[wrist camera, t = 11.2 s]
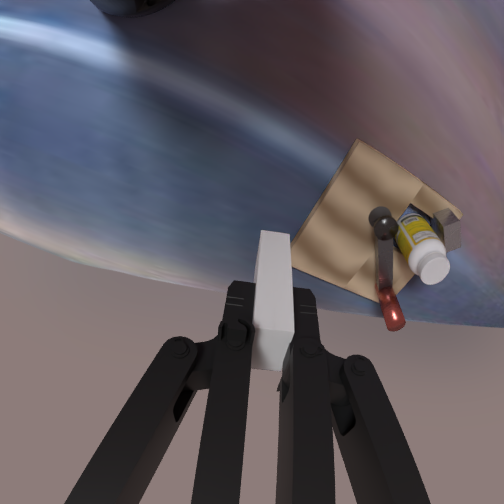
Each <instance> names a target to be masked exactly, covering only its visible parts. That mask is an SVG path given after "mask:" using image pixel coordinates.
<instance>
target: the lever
mask: <svg viewBox="0 0 504 504" xmlns="http://www.w3.org/2000/svg"><path fill="white" fill-rule="evenodd" d="M398 229H399V227H398V223H397V222H396V220H395V219H394V218H393V217H392V216H388V215H386V216H382V217H380V218H378V219H377V220H376V221H374V226H373V231H374V236H375V258H376V284H375V291H376V294H377V297H378V300H379V303H380V306H381V309H382V313H383V316H384V319H385V322H386V325H387V329H388V330H389V331H398V330H400V329H401V328H403V327H404V325H405V323H406V322H405V319H404V316H403V313H402V310H401V308H400V305H399V302H398V300H397V297H396V294H395V292H394V289H393V237H395V235H396V234H397V232H398Z"/></svg>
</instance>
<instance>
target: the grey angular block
mask: <svg viewBox="0 0 504 504" xmlns="http://www.w3.org/2000/svg"><path fill="white" fill-rule="evenodd" d="M430 221H431V228H432V229H433V231H434V232H435V233H436V235H437V236H438V237H439V239H440V240H441V242H442V243H443V245H444V247H445V249H446V253H447V252H449V251H452V250H455V249H457V248H460V247H461V230H460V220H459V219H458V218H457V217H456V215H455V214H454V213H453V212H452V211H451V210H450V209H449V208H446V209H443V210H440V211H438V212H435V213H433V218H432V217H430Z"/></svg>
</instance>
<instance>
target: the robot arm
mask: <svg viewBox="0 0 504 504" xmlns="http://www.w3.org/2000/svg"><path fill="white" fill-rule="evenodd" d="M90 1H91V2H92V3H93V4H94V5H95V6H96V7H97V8H98V9H100V10H101V11H103V12H105V13H108V14H111V15H115V16H121V17H140V16H145V15H148V14H151V13H154V12H156V11H159V10H161V9H163V8H164V7H166V6H168V5H169V4H171V3H172V2H173V1H175V0H90ZM282 366H283V368H282ZM251 368H252V369H262V370H271V371H281V369H283V370H282V372H283V373H282V377H281V380H280V383H279V385H278V388H277V391H280V403H279V405H280V406H279V437H278V464H277V485H276V504H335V475H334V474H335V471H334V449H333V431H332V427H333V430H334V433H335V436H336V439H337V442H338V445H339V448H340V451H341V455H342V458H343V461H344V464H345V467H346V470H347V473H348V476H349V479H350V482H351V486H352V489H353V492H354V495H355V498H356V502H357V504H431V503H430V500H429V498H428V495H427V492H426V489H425V487H424V484H423V481H422V479H421V476H420V474H419V471H418V468H417V466H416V463H415V461H414V458H413V455H412V453H411V451H410V448H409V446H408V443H407V441H406V439H405V436H404V433H403V431H402V429H401V427H400V424H399V422H398V419H397V417H396V415H395V412H394V410H393V408H392V405H391V403H390V401H389V399H388V396H387V394H386V392H385V390H384V388H383V385H382V383H381V381H380V379H379V377H378V374H377V372H376V370H375V368H374V366H373V364H372V363H371V361H370V360H369V359H367V358H366V357H364V356H361V355H352V356H349V357H348V358H347V359H343V358H341V357H338V356H335V355H333V354H331V353H329V352H328V351H326V349H325V348H324V346H323V345H322V344H321V341H320V334H319V325H318V317H317V308H316V299H315V296H314V295H313V293H312V291H311V290H310V289H304V288H295V287H293V286H292V267H291V250H290V234H286V233H279V232H272V231H264V230H261V234H260V241H259V247H258V253H257V260H256V266H255V274H254V283H250V282H243V281H235V280H234V281H233V282H232V284H231V285H230V286H229V287H228V292H227V298H226V303H225V309H224V314H223V319H222V321H221V322H220V325H219V327H218V335H217V336H216V337H215V338H214V339H212V340H209V341H206V342H200V343H194V342H193V341H192V340H190V339H188V338H186V337H182V336H179V337H173V338H171V339H168V340H167V341H166V342H165V343H164V344H163V346H162V348H161V349H160V351H159V352H158V354H157V355H156V357H155V358H154V360H153V361H152V363H151V364H150V366H149V368H148V369H147V371H146V373H145V374H144V375H143V377H142V378H141V380H140V382H139V383H138V385H137V386H136V388H135V390H134V391H133V393H132V394H131V396H130V397H129V399H128V400H127V402H126V404H125V405H124V407H123V408H122V410H121V411H120V413H119V415H118V416H117V418H116V419H115V421H114V423H113V424H112V426H111V428H110V429H109V431H108V432H107V434H106V436H105V437H104V439H103V440H102V442H101V444H100V445H99V447H98V448H97V450H96V452H95V453H94V455H93V457H92V458H91V460H90V462H89V463H88V465H87V466H86V468H85V470H84V471H83V473H82V475H81V477H80V478H79V480H78V481H77V483H76V485H75V487H74V488H73V490H72V491H71V493H70V495H69V497H68V498H67V500H66V502H65V503H64V504H139V502H140V500H141V498H142V496H143V494H144V492H145V490H146V489H147V487H148V485H149V483H150V481H151V479H152V477H153V475H154V474H155V471H156V470H157V468H158V466H159V464H160V462H161V460H162V458H163V456H164V454H165V452H166V450H167V449H168V447H169V445H170V443H171V441H172V439H173V437H174V435H175V433H176V431H177V429H178V427H179V425H180V423H181V421H182V419H183V417H184V416H185V414H186V412H187V410H188V408H189V406H190V404H191V402H192V400H193V398H194V396H195V394H196V392H197V390H202V389H209V393H208V399H207V405H206V411H205V418H204V424H203V430H202V436H201V442H200V449H199V455H198V461H197V468H196V474H195V480H194V487H193V494H192V500H191V504H239V498H240V487H241V476H242V465H243V452H244V442H245V431H246V419H247V407H248V394H249V383H250V371H251Z"/></svg>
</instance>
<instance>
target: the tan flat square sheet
mask: <svg viewBox="0 0 504 504" xmlns="http://www.w3.org/2000/svg"><path fill="white" fill-rule="evenodd" d="M410 203H411V204H413V205H414V206H416V207H417V208H419V209H420V210H422V211H423V212H425V213H426V214H428V215H429V216H430V217H432V218H433V213H435V212H438V211H440V210H443V209H446V208H449V209H450V210H451V211H452V212H453V213H454V214H455V215H456V217H457V218H458V219H459V220H460V218H461V217H462V216H463V214H462V213H461V212H460V210H459V209H457V208H456V207H455V206H454V205H452V204H451V203H450V202H449V201H447V200H446V199H445V198H444V197H442V196H441V195H440V194H438V193H437V192H436V191H435V190H433V189H432V188H431V187H429V186H428V185H427V184H425V183H424V182H422V181H421V180H420V179H418V178H417V177H416V176H414V175H413V174H411V173H410V172H409V171H407V170H406V169H404V168H403V167H401V166H400V165H398V164H397V163H395V162H394V161H392V160H391V159H389V158H388V157H386V156H385V155H383V154H382V153H380V152H379V151H377V150H376V149H374V148H372V147H371V146H369V145H368V144H366V143H364V142H363V141H361V140H359V139H358V138H357V139H356V140H355V142H354V144H353V145H352V147H351V149H350V150H349V152H348V153H347V155H346V157H345V158H344V160H343V162H342V163H341V165H340V166H339V168H338V170H337V171H336V173H335V174H334V176H333V178H332V179H331V181H330V182H329V184H328V186H327V187H326V189H325V190H324V192H323V194H322V195H321V197H320V198H319V200H318V201H317V203H316V205H315V206H314V208H313V209H312V211H311V212H310V214H309V216H308V217H307V219H306V220H305V222H304V223H303V225H302V227H301V228H300V230H299V231H298V233H297V234H296V236H295V237H294V239H293V240H292V242H291V244H290V250H291V267H294V268H296V269H298V270H301V271H303V272H306V273H308V274H311V275H313V276H315V277H318V278H320V279H323V280H325V281H327V282H330V283H332V284H335V285H337V286H339V287H342V288H344V289H347V290H349V291H352V292H354V293H356V294H359V295H361V296H364V297H366V298H368V299H371V300H373V301H376V302H378V303H379V300H378V297H377V294H376V291H375V284H376V258H375V236H374V231H373V226H374V221H376V220H377V219H378V218H380V217H382V216H386V215H388V216H392V217H393V218H394V219H395V220H396V222H397V221H398V219H399V218H400V217H401V215H402V214H403V212H404V211H405V210H406V208H407V207H408V206H409V204H410ZM414 275H415V273H413V272H412V270H411V269H410V268H409V266H408V264H407V262H406V260H405V258H404V256H403V254H402V252H401V250H400V249H398V248H396V247H395V246H393V289H394V292H395V294H397V293H398V292H399V291H400V290H401V289H402V288H403V287H404V286H405V285H406V284H407V283H408V281H409V280H410V279H411V278H412V277H413V276H414Z"/></svg>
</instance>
